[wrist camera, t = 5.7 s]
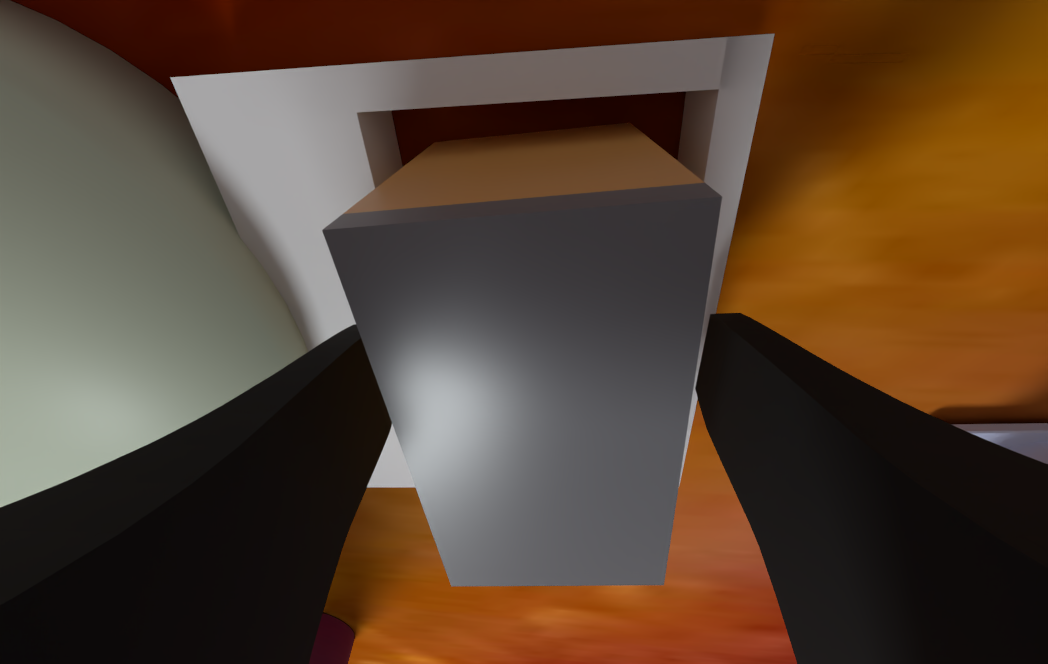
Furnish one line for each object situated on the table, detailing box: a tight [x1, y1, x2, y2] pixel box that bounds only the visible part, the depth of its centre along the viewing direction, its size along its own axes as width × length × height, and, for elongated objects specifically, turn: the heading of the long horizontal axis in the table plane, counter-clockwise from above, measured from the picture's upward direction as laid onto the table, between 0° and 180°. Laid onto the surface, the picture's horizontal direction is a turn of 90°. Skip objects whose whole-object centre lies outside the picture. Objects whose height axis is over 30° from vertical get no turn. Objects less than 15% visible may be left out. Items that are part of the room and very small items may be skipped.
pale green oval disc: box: [0, 0, 775, 507], centre depth 11 cm, size 16×26×3 cm, turn 93°
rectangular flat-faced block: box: [322, 123, 722, 586], centre depth 9 cm, size 8×4×6 cm, turn 6°
